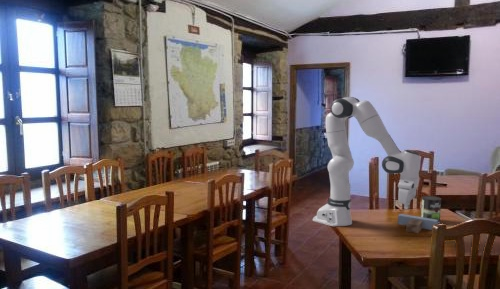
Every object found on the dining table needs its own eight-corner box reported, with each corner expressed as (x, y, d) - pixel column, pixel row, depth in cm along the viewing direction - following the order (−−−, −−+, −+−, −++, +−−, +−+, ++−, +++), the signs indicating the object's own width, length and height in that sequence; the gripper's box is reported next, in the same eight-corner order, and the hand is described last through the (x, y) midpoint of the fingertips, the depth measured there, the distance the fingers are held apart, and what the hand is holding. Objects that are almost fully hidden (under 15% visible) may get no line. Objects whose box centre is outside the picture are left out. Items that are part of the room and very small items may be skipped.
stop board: (397, 223, 227) (398, 215, 226) (399, 222, 230) (400, 213, 229) (435, 230, 215) (436, 221, 214) (437, 228, 218) (437, 219, 218)
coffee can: (444, 223, 227) (445, 199, 226) (427, 224, 225) (429, 200, 224) (432, 218, 237) (433, 195, 236) (416, 219, 235) (418, 196, 234)
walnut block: (406, 231, 214) (406, 223, 214) (410, 226, 222) (411, 218, 222) (417, 233, 211) (418, 225, 210) (422, 228, 219) (422, 220, 218)
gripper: (408, 178, 212) (405, 203, 214) (397, 184, 195) (394, 211, 197) (420, 180, 208) (417, 205, 210) (410, 186, 192) (407, 214, 193)
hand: (406, 208), depth 203 cm, fingers closed
